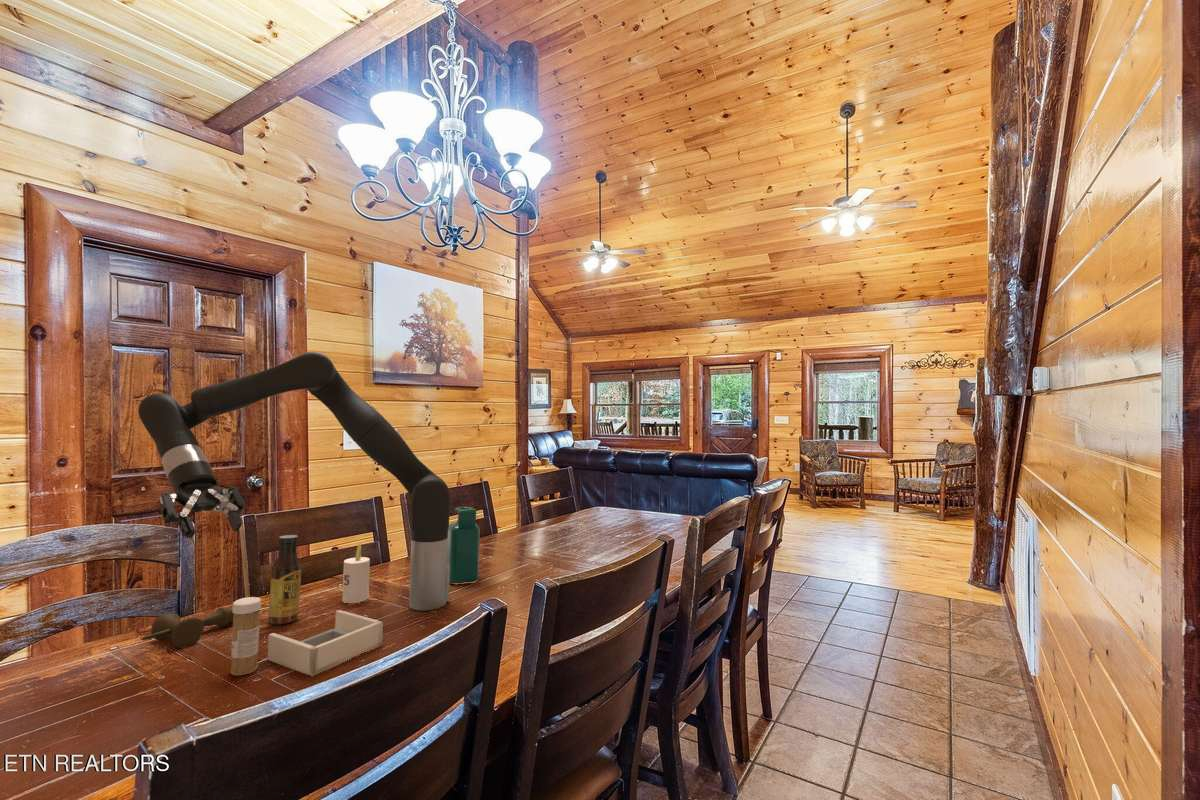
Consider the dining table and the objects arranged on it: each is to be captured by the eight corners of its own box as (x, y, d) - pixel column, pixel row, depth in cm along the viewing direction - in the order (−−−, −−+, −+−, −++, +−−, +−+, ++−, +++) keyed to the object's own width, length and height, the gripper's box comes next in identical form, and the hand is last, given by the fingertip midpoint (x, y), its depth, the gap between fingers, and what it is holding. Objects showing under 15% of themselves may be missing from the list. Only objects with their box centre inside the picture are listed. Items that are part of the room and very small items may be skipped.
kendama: (254, 627, 126) (152, 658, 108) (229, 621, 130) (128, 650, 112) (255, 601, 126) (154, 627, 108) (230, 595, 130) (129, 620, 112)
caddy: (338, 632, 122) (339, 609, 122) (382, 645, 116) (382, 621, 116) (267, 659, 108) (268, 634, 108) (312, 676, 101) (313, 649, 102)
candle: (336, 602, 141) (338, 544, 142) (356, 594, 147) (357, 539, 148) (354, 605, 139) (356, 547, 139) (373, 598, 145) (375, 542, 146)
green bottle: (445, 578, 164) (447, 505, 164) (473, 575, 167) (475, 504, 168) (451, 587, 155) (453, 510, 156) (480, 584, 158) (482, 509, 159)
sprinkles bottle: (231, 668, 104) (234, 598, 104) (259, 663, 106) (262, 594, 107) (228, 679, 100) (231, 605, 100) (257, 673, 102) (260, 602, 102)
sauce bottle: (284, 627, 124) (288, 540, 125) (261, 624, 126) (265, 538, 126) (305, 617, 131) (308, 534, 131) (283, 614, 132) (286, 533, 133)
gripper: (156, 461, 107) (183, 526, 102) (232, 457, 120) (259, 515, 114) (141, 485, 110) (166, 550, 104) (217, 479, 122) (243, 537, 117)
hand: (215, 532), depth 109 cm, fingers open, 8 cm apart
